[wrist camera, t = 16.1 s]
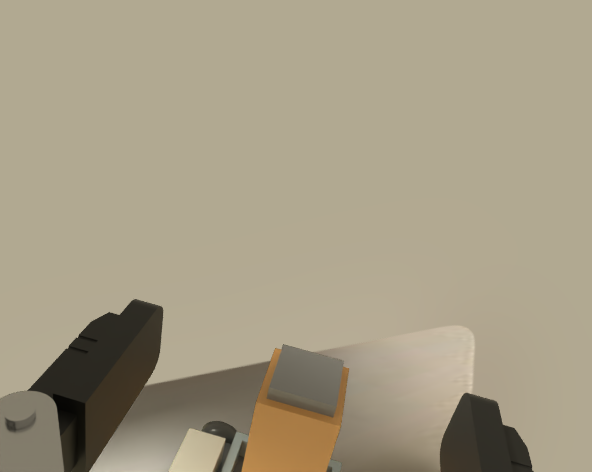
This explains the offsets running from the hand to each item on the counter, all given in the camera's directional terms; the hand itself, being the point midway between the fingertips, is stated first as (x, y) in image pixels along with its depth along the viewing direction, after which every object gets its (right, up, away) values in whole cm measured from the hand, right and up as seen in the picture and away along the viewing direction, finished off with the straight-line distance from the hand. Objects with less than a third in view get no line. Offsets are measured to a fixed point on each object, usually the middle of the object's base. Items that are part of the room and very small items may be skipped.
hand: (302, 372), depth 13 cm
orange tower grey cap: (-2, -14, +20) cm, 25 cm away
